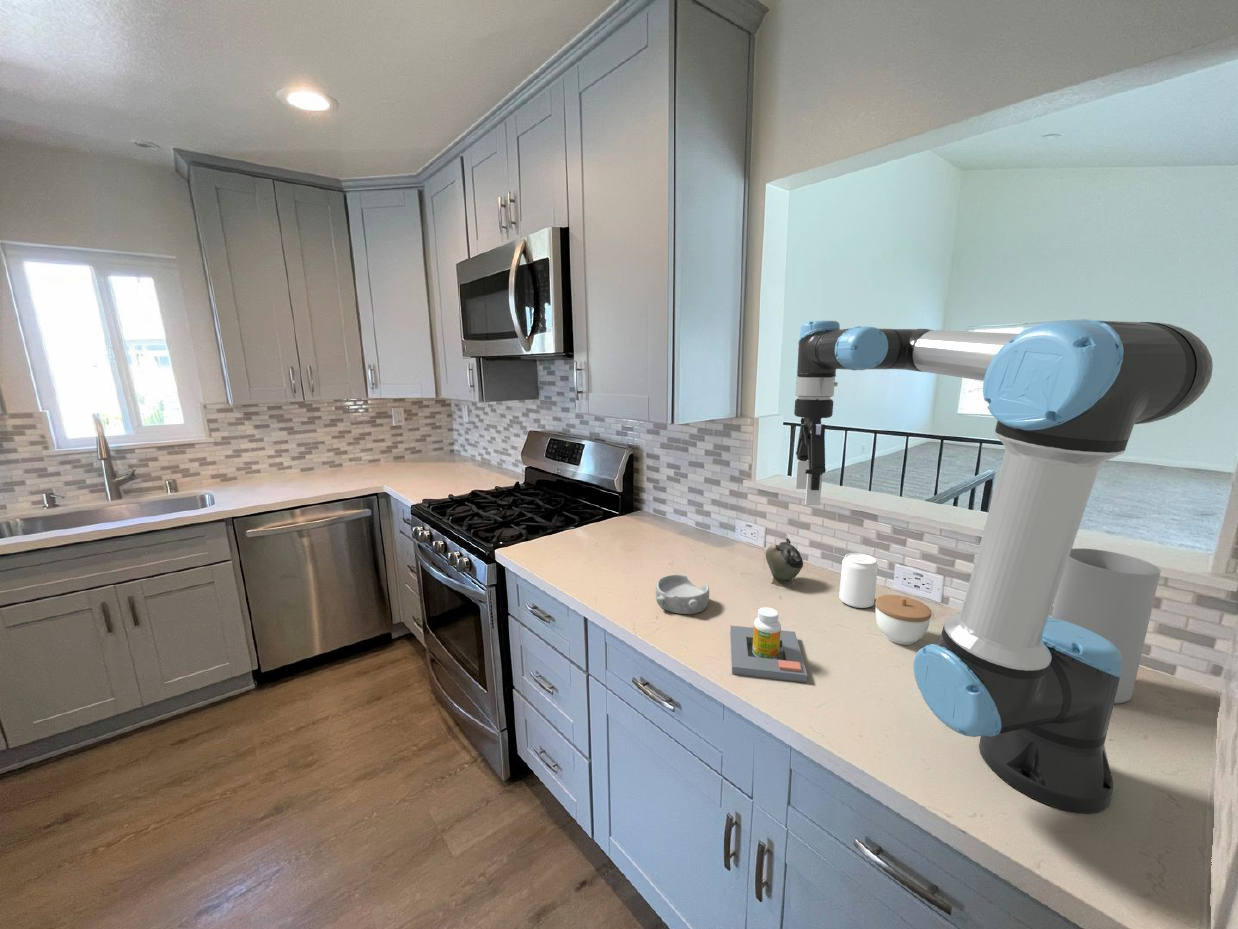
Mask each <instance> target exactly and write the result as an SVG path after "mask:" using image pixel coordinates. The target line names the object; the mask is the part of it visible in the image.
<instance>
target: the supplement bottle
mask: <svg viewBox="0 0 1238 929" xmlns="http://www.w3.org/2000/svg"><path fill="white" fill-rule="evenodd" d="M753 628H754V631H753V648H752V652H753V654H754V655H755V656H756V657H759V658H768V659H777V658H778V657H779V647H780V634H781V630H782V624H781V623H780V621H779V612H778V610H776V609H775V608H772V607H767V606H764V607H760V608H758V610H757V617H756V618H755V619H754V623H753Z"/></svg>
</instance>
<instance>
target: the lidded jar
mask: <svg viewBox="0 0 1238 929" xmlns="http://www.w3.org/2000/svg"><path fill="white" fill-rule="evenodd" d="M874 605H875V609H874V613H875V622H876V624H877V625H876V626H877V627H878V629H879V631H880V632H881V633H882V634H883V636H884V637H885V638H886V639H887V640H888V641H890V642H892V643H895V644H898V645H905V646H908V645H909V646H910V645H911V646H912V645H913V644H915V642H917V641H919V640H921V639H922V638H923V637H924V636H925V635H926V633H927V631H928V628H929V626H930V621H931V617H932V610H931V608H930V607H929V606H928V605H927V604H925V603H924V602H922V601H920V600H918V599H915V598H912V597H909V596H905V595H904V596H903V595H899V594H898V595H897V594H884V595H879V596H878V597H876V599H875V602H874Z"/></svg>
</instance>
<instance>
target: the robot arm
mask: <svg viewBox="0 0 1238 929" xmlns="http://www.w3.org/2000/svg"><path fill="white" fill-rule="evenodd" d="M840 325H841V324H840V322H838V321H837V320H813V321H805V322H803V324H801V327H800V331H799V332H800V333H799V339H798V342H797V344H798V349H797V351H798V352H797V369H796V370H797V371H796V380H795V396H797V398H796V399H794V412H793V414H794V416H795V417H798V418H801V419H800V428H799V434H798V440H797V445H796V451H795V455H796V459H797V462H796V475H795V476H796V477H795V489H796V490H805V502H804V503H805V506H821V497H822V496H821V495H822V493H821V492H822V482H823V474H825V473H826V471H827V469H826V444H825V443H826V441H825V440H826V439H825V437H826V435H825V434H826V424H822V419H829V418H831V417H832V416H833V413H834V411H833V410H834V401H835V400H833V399H832V398H831V397H834V395H835V387H838V385H839V382H837V381H836V376H837V373H836V372H837V370H850V371H867V370H905V371H912V372H922V373H929V374H934V375H935V374H936V375H942V376H949V377H956V378H961V379H962V378H963V379H969V380H975V381H982V382H983V384H982V396H983V399H984V401H985V402H987V403H988V406H987V409H988V411H989V413H990V414H991V415H992V416H993V417H994V418H995V419H996V420H997V422H996V426H995V428H994V429H995V431H994V435H995V436H996V437H997V439H998V440H999V441H1000V442H1001V443H1002V444H1003V446H1004V449H1005V451H1004V455H1003V458H1002V462H1001V466H1000V470H999V473H998V476H997V480H996V485H995V487H994V491H993V496H992V498H991V503H990V505H989V510H988V513H987V516H986V521H985V525H984V528H983V531H982V536H981V538H980V542H979V546H978V551H977V553H976V557H975V561H974V564H973V567H972V572H971V575H970V579H969V582H968V586H967V591H966V594H965V598H964V601H963V603H962V604H963V605H962V608H961V611H960V612H956V613H952V614H950V615H948V616H947V617H946V619H945V620H944V623H943V627H942V630H941V634H940V638H939V641H938V643H937V644H934V643H931V644H927V645H925V646H924V647H921V648H920V649H919V650H918V651H917V652H916V654H915V656H914V659H913V674H914V679H915V682H916V685H917V688H918V690H919V692H920V694H921V696H922V699H923V700H924V702H925V704H926V705H927V707H928V708H929V710H930V711H931V712H932V713H933V715H934V716H935V717H936V718H937V719H938V720H939V721H940V722H941V723H942V724H944V725H945V726H946V727H947V728H949V729H950V730H952V731H954V732H955V733H957V734H959V735H962V736H966V737H971V738H975V737H979V743H978V744H979V745H978V748H979V752H980V755H981V757H982V759H983V762H985V764H987V766H988V767H989V768H990V769H991V771H992V772H993V773H994V774H996V775H997V777H999V778H1000V779H1002V781H1004V782H1005V783H1006V784H1008V785H1009V786H1011V787H1013V788H1014V789H1016V790H1017V791H1019V792H1021V793H1022V794H1024V795H1026V796H1028V797H1030V798H1032V799H1034V800H1036V801H1038V802H1041V803H1043V804H1045V805H1047V806H1051V807H1054V808H1056V809H1060V810H1063V811H1068V812H1073V813H1080V814H1094V813H1099V812H1102V811H1105V810H1106V809H1107V808H1108V807H1110V805H1111V801H1112V798H1113V793H1114V780H1113V776H1112V772H1111V767H1110V763H1109V758H1108V756H1107V750H1106V746H1105V743H1106V739H1107V734H1108V731H1109V725H1110V723H1111V722H1110V721H1111V718H1112V712H1113V709H1114V705H1115V703H1114V701H1115V696H1116V692H1117V688H1118V683H1119V679H1120V677H1122V673H1121V664H1122V654H1121V652H1120V651H1119V649H1118V648H1116V646H1115V645H1114V644H1113V643H1111V642H1110V641H1109V640H1107V639H1105V638H1104V637H1102V636H1100V635H1098V634H1096V633H1094V632H1092V631H1090V630H1088V629H1085V628H1083V627H1080V626H1078V625H1075V624H1072V623H1069V622H1066V621H1063V620H1059V619H1056V618H1052V616H1051V617H1050V614H1051V612H1052V610H1053V609H1052V608H1053V607H1054V603H1055V597H1056V594H1057V591H1058V588H1059V585H1060V582H1061V579H1062V576H1063V573H1064V570H1065V567H1066V564H1067V561H1068V558H1069V555H1070V552H1071V550H1072V548H1074V547H1073V546H1074V543H1075V540H1076V537H1077V535H1078V531H1079V529H1080V526H1081V523H1082V519H1083V517H1084V513H1085V510H1086V508H1087V504H1088V501H1089V498H1090V496H1091V493H1092V490H1093V488H1094V487H1093V486H1094V484H1095V481H1096V478H1097V475H1098V472H1099V469H1100V466H1101V465H1102V464H1103V463H1105V462H1106V461H1109V460H1111V459H1113V458H1117V457H1118V456H1120V455H1123V454H1124V453H1125V452H1126V448H1127V445H1128V443H1129V440H1130V437H1131V435H1132V432H1133V429H1134V427H1135V425H1141V424H1144V425H1145V424H1150V423H1154V422H1158V421H1162V420H1165V419H1167V418H1170V417H1172V416H1174V415H1177V414H1179V413H1180V412H1182V411H1183V410H1185V409H1187V408H1188V407H1190V406H1191V405H1192V404H1194V402H1196V401H1197V400H1198V399H1199V398H1200V396H1202V394H1204V392H1205V390H1206V389H1207V387H1208V386H1209V384H1210V382H1211V380H1212V376H1213V367H1214V365H1213V358H1212V355H1211V353H1210V351H1209V348H1208V347H1207V345H1206V344H1205V343H1204V342H1203V341H1202V340H1201V339H1200V337H1199V336H1197V335H1195V334H1194V333H1192V331H1189V330H1187V329H1186V328H1182V327H1180V326H1176V325H1173V324H1171V323H1165V322H1163V323H1162V322H1156V321H1154V322H1153V321H1140V322H1139V321H1118V320H1116V321H1111V320H1095V319H1094V320H1093V319H1085V318H1081V319H1072V320H1071V319H1068V320H1060V321H1051V322H1049V321H1048V322H1043V323H1040V324H1037V325H1033V326H1032V327H1029V328H1027V329H1025V330H1022V331H1021V332H1019V333H1011V332H1010V333H1008V332H1007V333H1005V332H985V331H960V330H941V329H940V330H939V329H938V330H937V329H936V330H935V329H930V328H878V327H874V326H860V325H859V326H854V327H849V328H843V329H841V327H840Z"/></svg>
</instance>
